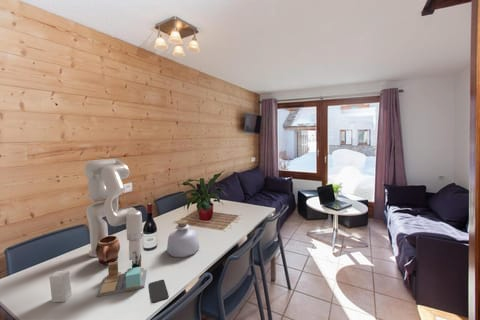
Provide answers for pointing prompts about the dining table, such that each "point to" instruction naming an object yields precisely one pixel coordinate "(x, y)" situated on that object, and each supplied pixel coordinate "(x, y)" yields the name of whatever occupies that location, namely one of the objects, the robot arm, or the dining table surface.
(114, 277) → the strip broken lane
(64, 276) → the skincare box
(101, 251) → the decorative planter
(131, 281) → the cube
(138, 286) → the strip cube lane
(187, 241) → the light grey vase
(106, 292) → the lane board
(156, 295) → the phone
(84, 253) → the dining table surface
